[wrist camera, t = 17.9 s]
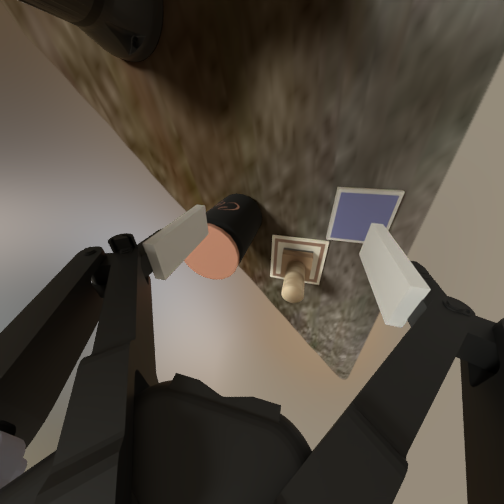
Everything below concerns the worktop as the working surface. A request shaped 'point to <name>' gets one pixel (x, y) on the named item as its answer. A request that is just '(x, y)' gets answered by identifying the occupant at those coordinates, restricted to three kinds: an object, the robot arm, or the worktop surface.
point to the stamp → (295, 273)
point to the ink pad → (361, 212)
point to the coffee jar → (226, 237)
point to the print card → (302, 244)
